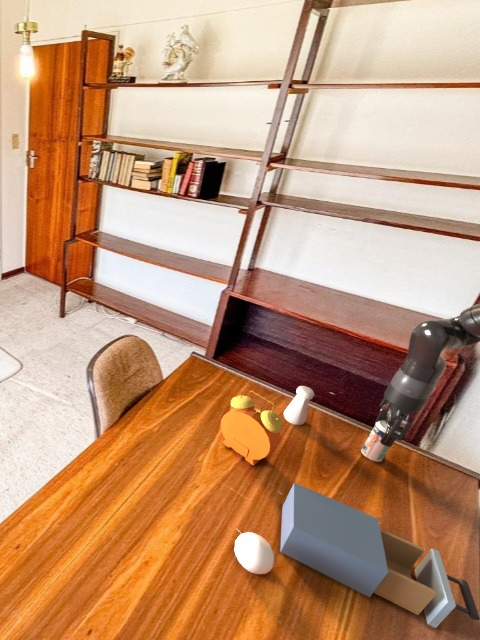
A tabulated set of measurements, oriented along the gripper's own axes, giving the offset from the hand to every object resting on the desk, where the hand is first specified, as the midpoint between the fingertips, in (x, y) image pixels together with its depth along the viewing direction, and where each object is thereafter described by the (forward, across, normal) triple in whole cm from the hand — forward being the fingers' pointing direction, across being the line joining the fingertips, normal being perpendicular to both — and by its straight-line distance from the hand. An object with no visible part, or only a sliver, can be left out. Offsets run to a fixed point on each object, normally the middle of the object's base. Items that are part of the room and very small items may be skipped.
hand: (382, 434), depth 108 cm
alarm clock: (+9, -19, +31) cm, 37 cm away
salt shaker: (+9, +3, +19) cm, 21 cm away
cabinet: (+9, -39, +13) cm, 42 cm away
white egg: (+9, -50, +27) cm, 57 cm away
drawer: (+8, -39, 0) cm, 40 cm away
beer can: (+9, 0, 0) cm, 9 cm away
